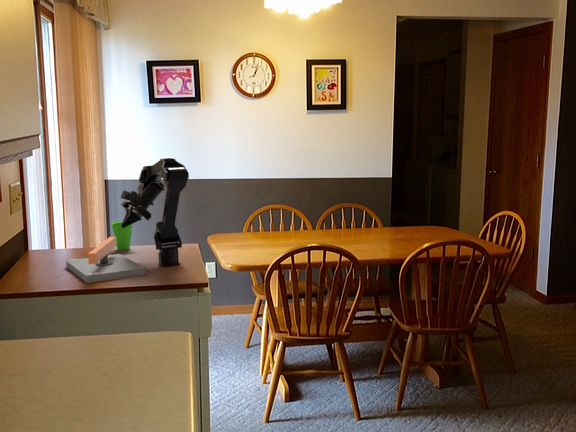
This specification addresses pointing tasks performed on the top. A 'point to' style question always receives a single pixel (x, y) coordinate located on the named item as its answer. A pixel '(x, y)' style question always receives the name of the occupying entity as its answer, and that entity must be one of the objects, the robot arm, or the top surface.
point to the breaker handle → (102, 251)
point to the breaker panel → (105, 268)
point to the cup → (122, 235)
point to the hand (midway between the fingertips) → (121, 227)
